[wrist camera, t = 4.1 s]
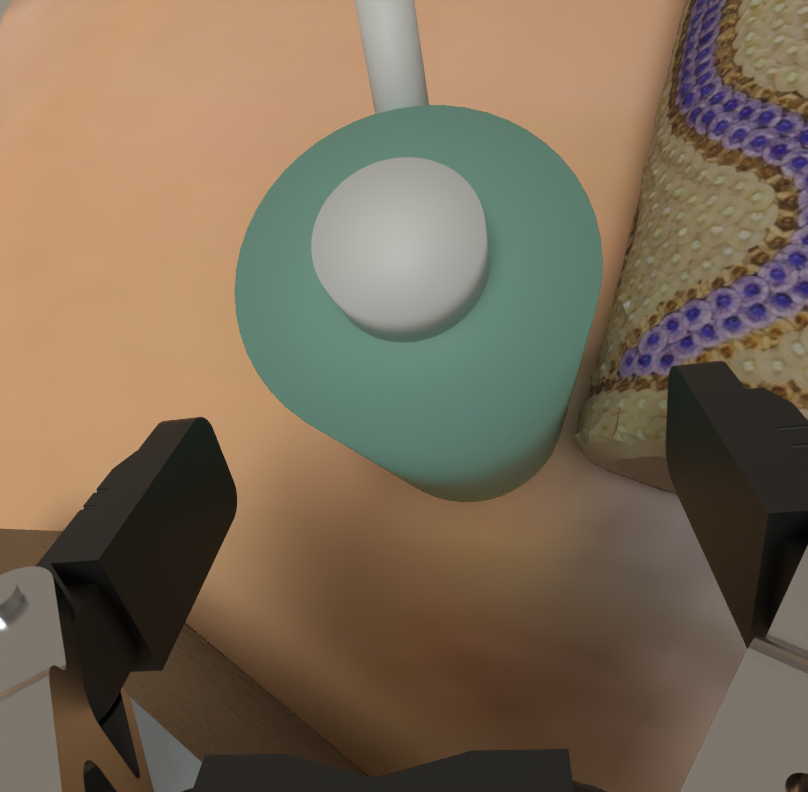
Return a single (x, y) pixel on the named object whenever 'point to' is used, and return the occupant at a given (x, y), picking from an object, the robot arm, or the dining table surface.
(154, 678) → the grey metal block
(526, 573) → the dining table surface
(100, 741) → the robot arm
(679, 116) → the decorative bottle
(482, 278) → the oil can
